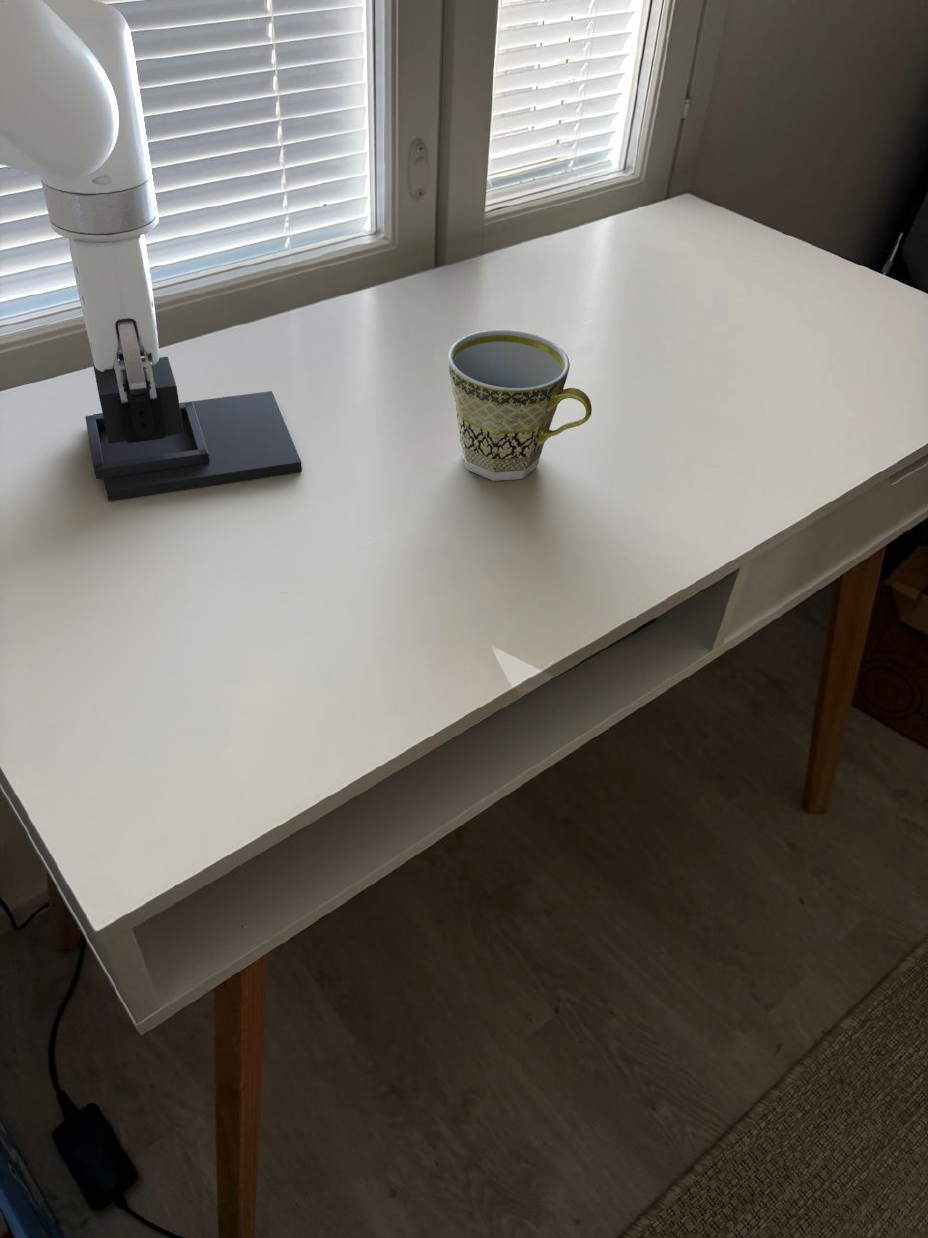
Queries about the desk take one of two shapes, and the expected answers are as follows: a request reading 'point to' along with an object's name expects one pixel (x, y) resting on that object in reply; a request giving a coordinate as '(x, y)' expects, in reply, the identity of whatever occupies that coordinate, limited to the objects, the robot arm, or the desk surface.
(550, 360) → the ceramic cup
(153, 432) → the robot arm
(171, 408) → the dark grey block
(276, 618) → the desk surface
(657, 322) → the desk surface
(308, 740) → the desk surface
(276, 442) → the base pad
